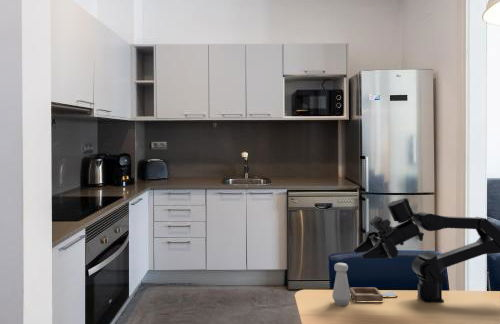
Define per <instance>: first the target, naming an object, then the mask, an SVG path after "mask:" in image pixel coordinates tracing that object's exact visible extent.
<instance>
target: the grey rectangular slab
mask: <svg viewBox="0 0 500 324" xmlns="http://www.w3.org/2000/svg"><path fill="white" fill-rule="evenodd" d="M386 292H387V293H383V294H382V295H383V296H397V297H398V295H397V294H396V293H395V292H394V291H392V292H389V291H386Z"/></svg>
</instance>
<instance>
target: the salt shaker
mask: <svg viewBox="0 0 500 324" xmlns="http://www.w3.org/2000/svg"><path fill="white" fill-rule="evenodd" d="M333 267H334V268H333V269H334V271H335V272H336V273H335V278H334V279H335V280H334V283H333V291H332V298H333V302H334V303H335V305H337V306H339V307H341V306H342V307H345V306H346V307H347V306H348V305H349V303H350V302H351V300H352V297H351V295H350V285H349V284H350V283H349V280H348V275H347V271H349V265H348V264H347V263H344V262H337V263H335V264H334V266H333ZM347 304H348V305H347Z"/></svg>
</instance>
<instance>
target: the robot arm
mask: <svg viewBox="0 0 500 324" xmlns="http://www.w3.org/2000/svg"><path fill="white" fill-rule="evenodd" d="M386 206H387V209H388V211H389V214H390V215H391V217H392V220H393V221H394V222H397V223H398V224H397V225H395V226H390V225H391V221H390V220H389V219H388V218H384V219H383V218H381V217H380V216H378V215H375V216H374V217H373V218H372V219H371V220H370V221H369V224H370V225H371V226H373V227H374V228H375V229H376V230H377V231H374V230H368V231H366V233H365V237H364V240H363V241H362V242H361V243H360V244H359V245H358V246H356V247H355V248H354V249H353V252H354V253H355V254H359V253H363V254H361V257H362V259H366V260H367V259H394V258H395V257H398V254H399V250H398V248H397V246H399V245H400V246H403V245H405V244H404V243H405V242H407V241H409V240H411V239H414V238H415V239H416V241H417V240H418V241H420V242H423V240H424V236H425V233H424V232H421V230H423V231H428V232H434V231H442V230H443V229H444V230H445V229H461V230H462V229H465V230H475V231H476V232H477V235H478V236H479V238H478V239H477V240H476V241H475V242H472V243H469V244H465V245H463V246H461V247H460V246H459V247H457V248H455V249H452V250H449V251H446V252H443V253H440V254H435V253H433V252H430V251H427V252H424V253H422V254H417V255H416V256H417V257H414V258H413V260H412V263H411V269H412V271H413V272H414V273H416V276H417V278H418V284H417V297H418V298H419V299H420V300H421V301H423V302H424V303H425V302H426V303H427V302H431V303H432V302H435V303H436V302H439V303H441V302H442V303H444V302H445V300H444V299H443V295H442V293H443V292H442V291H443V289H442V288H443V287H442V285H443V284H444V281H445V276H444V275H443V274H442V272H443V271H444V270H445V269H446V268H448V267H451V266H454V265H457V264H460V263H463V262H465V261H469V260H471V259H472V260H473V259H475V258H477V257H480V256H483V255H490V254H491V255H493V254H495V255H496V254H500V230H499V228H497V227H496V226H494V225H493V224H492V223H491V222H490V220H488V219H487V218H484V217H480V216H475V217H471V216H468V217H467V216H445V215H439V214H434V213H429V212H425V211H421V212H414V211H413V209H412V207H411V205H410V202H409V200H408V198H406V197H403V198H402V199H401V198H400V199H397V200H393V201H391V202H389V203H387V205H386ZM420 229H421V230H420Z"/></svg>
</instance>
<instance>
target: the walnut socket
mask: <svg viewBox="0 0 500 324" xmlns="http://www.w3.org/2000/svg"><path fill="white" fill-rule="evenodd" d="M349 289H350V294H351V296H352V297H353V299H354V300H353V299H352V300H353V301H355V302H354V303H358V302H357V301H383V299H384V298H383V295H382V294H381V293H380V292H381V291H380V290H379V289H378V288H377V287H349ZM352 297H351V298H352ZM383 302H384V301H383Z"/></svg>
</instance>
